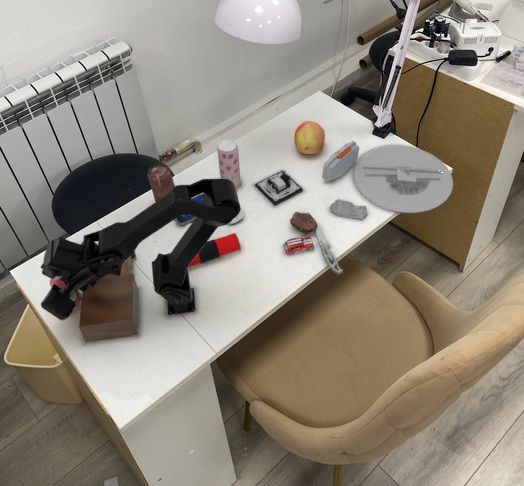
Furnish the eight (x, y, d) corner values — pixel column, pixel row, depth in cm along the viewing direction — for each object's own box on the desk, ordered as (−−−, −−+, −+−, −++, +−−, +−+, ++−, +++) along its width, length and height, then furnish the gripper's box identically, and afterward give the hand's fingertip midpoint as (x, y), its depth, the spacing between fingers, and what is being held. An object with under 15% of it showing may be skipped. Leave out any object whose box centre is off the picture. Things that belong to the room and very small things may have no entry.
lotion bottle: (80, 307, 131) (67, 279, 123) (59, 310, 130) (44, 282, 122) (82, 290, 134) (69, 261, 126) (61, 293, 134) (46, 264, 126)
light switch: (254, 185, 160) (274, 205, 154) (253, 175, 157) (274, 195, 151) (282, 171, 164) (303, 190, 158) (282, 161, 161) (303, 180, 155)
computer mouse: (230, 228, 148) (229, 221, 146) (208, 206, 154) (207, 199, 152) (247, 217, 151) (247, 210, 149) (225, 196, 156) (225, 189, 154)
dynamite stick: (241, 253, 142) (166, 280, 137) (235, 242, 145) (161, 268, 140) (239, 239, 139) (162, 265, 134) (233, 228, 142) (157, 253, 138)
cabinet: (90, 296, 134) (83, 280, 130) (138, 289, 135) (133, 273, 131) (86, 342, 125) (78, 327, 121) (138, 335, 126) (132, 319, 122)
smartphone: (228, 203, 154) (179, 225, 148) (228, 205, 154) (179, 227, 149) (215, 187, 158) (167, 208, 153) (215, 189, 159) (168, 210, 153)
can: (160, 219, 151) (148, 180, 142) (157, 204, 156) (145, 165, 146) (181, 213, 152) (171, 175, 142) (178, 198, 156) (168, 160, 147)
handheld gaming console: (351, 157, 167) (353, 136, 161) (359, 161, 165) (361, 141, 160) (320, 182, 160) (322, 161, 154) (328, 187, 158) (330, 166, 152)
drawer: (95, 256, 142) (90, 245, 138) (136, 251, 143) (132, 239, 139) (91, 298, 133) (86, 286, 129) (135, 292, 134) (131, 280, 130)
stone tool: (332, 198, 154) (327, 214, 152) (332, 196, 152) (327, 212, 151) (369, 208, 152) (364, 224, 150) (369, 205, 150) (365, 221, 148)
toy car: (314, 249, 143) (316, 242, 140) (285, 256, 141) (285, 249, 139) (310, 238, 145) (311, 231, 142) (281, 245, 143) (281, 238, 141)
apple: (284, 142, 164) (291, 121, 170) (300, 164, 169) (307, 142, 175) (312, 133, 159) (318, 111, 165) (328, 156, 164) (333, 134, 170)
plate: (448, 149, 168) (449, 146, 167) (456, 217, 148) (457, 214, 148) (355, 142, 172) (355, 139, 171) (351, 208, 152) (351, 205, 151)
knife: (321, 219, 148) (310, 221, 147) (343, 271, 136) (332, 273, 135) (320, 223, 149) (310, 225, 148) (342, 275, 137) (331, 277, 136)
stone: (298, 215, 151) (296, 207, 149) (323, 220, 148) (321, 212, 146) (288, 232, 147) (286, 224, 145) (313, 237, 144) (311, 229, 142)
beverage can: (244, 184, 160) (241, 145, 149) (229, 194, 158) (225, 154, 147) (232, 174, 163) (229, 135, 153) (217, 183, 161) (212, 143, 150)
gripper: (81, 215, 122) (53, 237, 133) (34, 282, 110) (6, 301, 120) (121, 244, 126) (90, 264, 136) (80, 313, 114) (49, 328, 124)
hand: (60, 287), depth 129 cm, fingers closed on lotion bottle, 5 cm apart
